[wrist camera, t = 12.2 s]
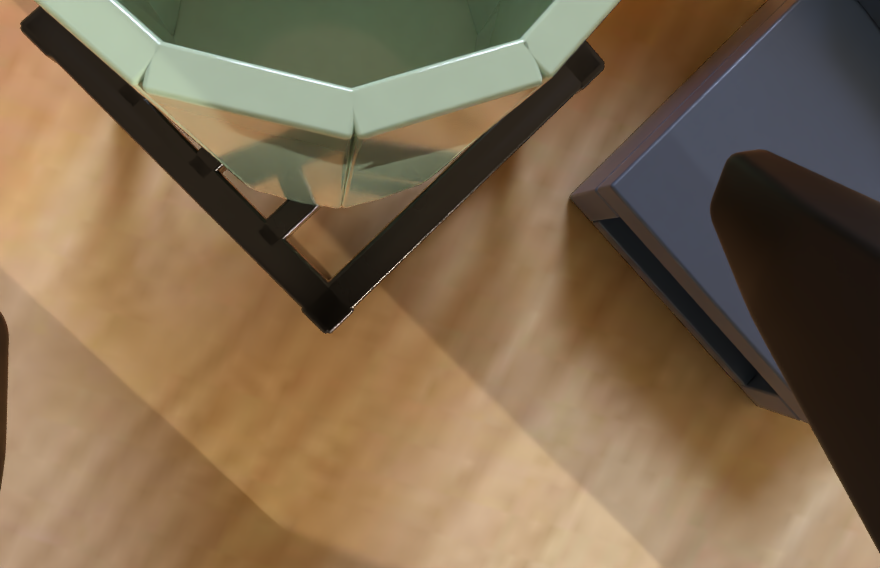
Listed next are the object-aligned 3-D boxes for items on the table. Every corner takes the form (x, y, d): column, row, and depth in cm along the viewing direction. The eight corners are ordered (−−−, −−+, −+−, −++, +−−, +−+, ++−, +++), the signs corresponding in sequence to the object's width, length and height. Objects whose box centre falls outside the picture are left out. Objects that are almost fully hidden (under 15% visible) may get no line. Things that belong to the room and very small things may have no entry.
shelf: (756, 407, 21) (890, 453, 16) (568, 196, 20) (647, 175, 15) (942, 210, 21) (1125, 195, 16) (771, -4, 20) (912, -88, 15)
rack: (328, 314, 19) (327, 337, 13) (112, 97, 18) (14, 24, 12) (531, 119, 19) (608, 64, 14) (334, -101, 18) (335, -254, 13)
